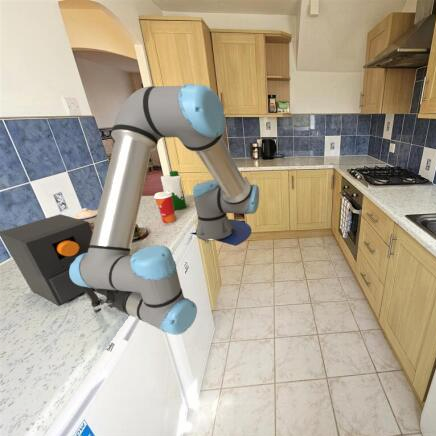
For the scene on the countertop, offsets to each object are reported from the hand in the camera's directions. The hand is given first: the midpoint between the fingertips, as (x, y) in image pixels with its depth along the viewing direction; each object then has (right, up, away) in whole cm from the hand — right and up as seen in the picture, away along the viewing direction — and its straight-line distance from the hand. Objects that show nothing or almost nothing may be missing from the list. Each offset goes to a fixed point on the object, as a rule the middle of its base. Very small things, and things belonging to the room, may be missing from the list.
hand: (84, 276), depth 68 cm
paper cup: (-1, +15, +50) cm, 53 cm away
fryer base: (-9, -4, +7) cm, 12 cm away
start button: (-2, +6, -2) cm, 7 cm away
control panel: (-10, +5, +3) cm, 11 cm away
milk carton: (-5, +22, +67) cm, 70 cm away
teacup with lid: (-28, +10, +40) cm, 50 cm away
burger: (-9, +8, +35) cm, 37 cm away
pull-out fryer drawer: (-7, -3, +5) cm, 10 cm away
